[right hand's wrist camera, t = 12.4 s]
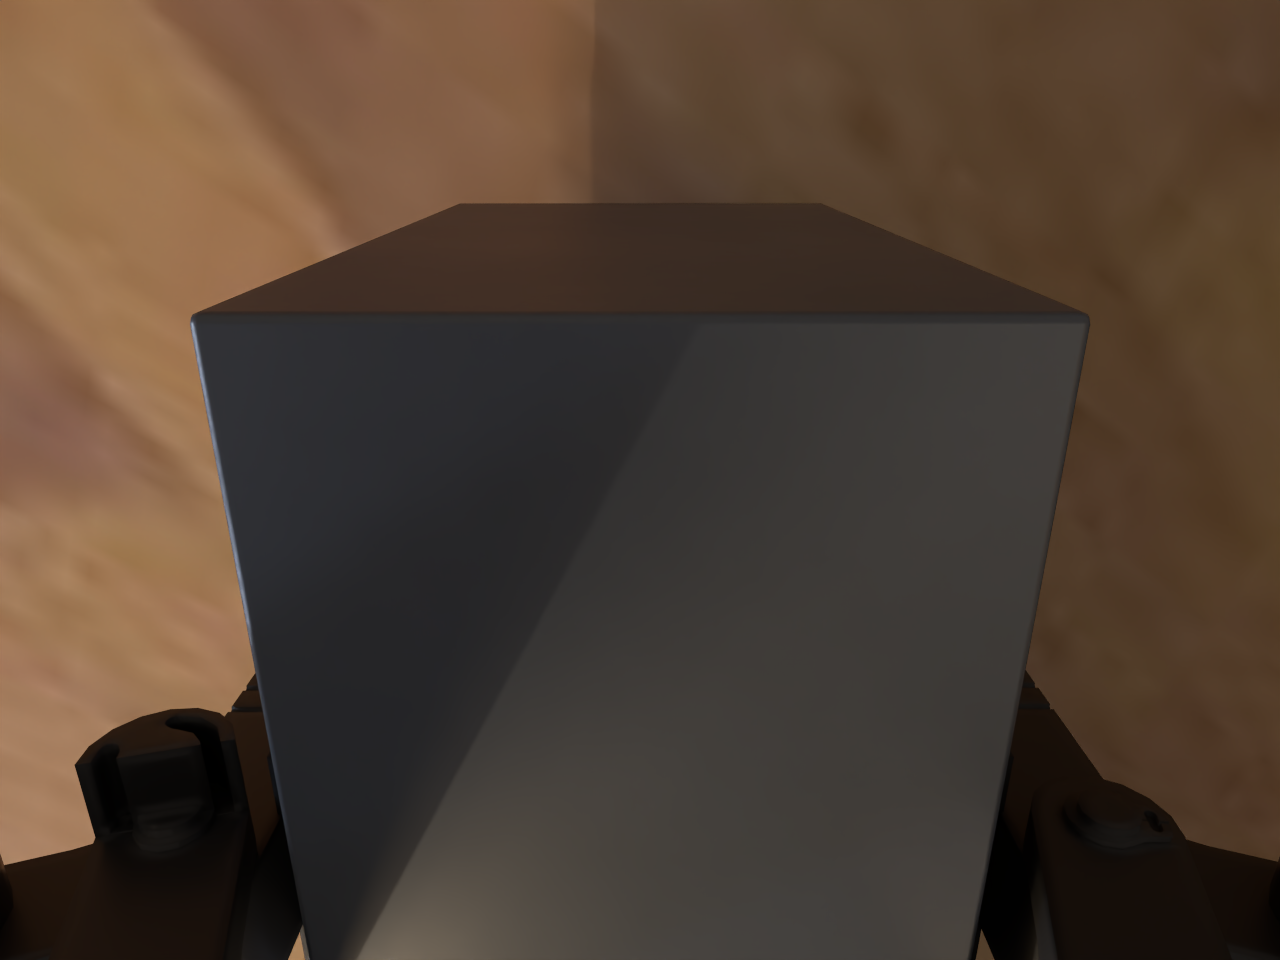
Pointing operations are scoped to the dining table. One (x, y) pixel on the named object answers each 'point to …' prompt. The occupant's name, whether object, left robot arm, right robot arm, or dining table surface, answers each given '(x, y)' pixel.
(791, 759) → the beam
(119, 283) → the dining table surface
